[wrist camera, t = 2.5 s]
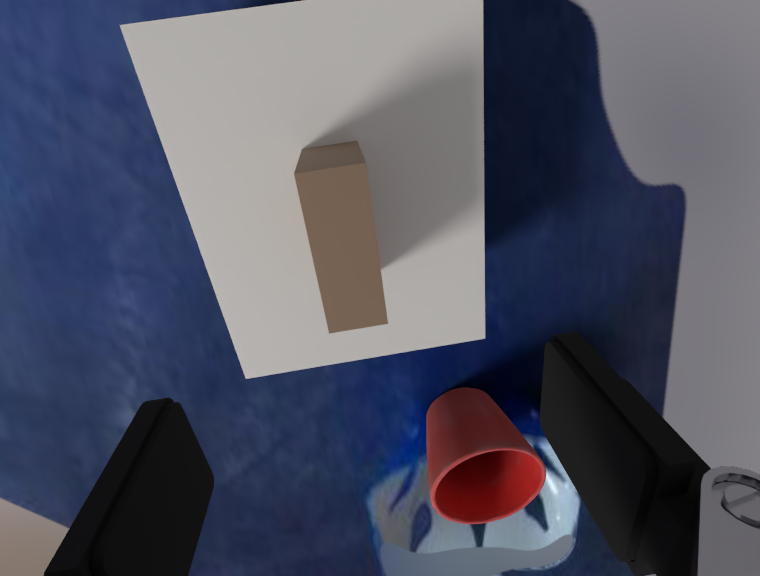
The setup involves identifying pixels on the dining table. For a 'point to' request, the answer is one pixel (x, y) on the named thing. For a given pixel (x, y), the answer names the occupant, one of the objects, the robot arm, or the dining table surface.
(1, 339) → the dining table surface
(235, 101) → the lid
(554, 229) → the dining table surface
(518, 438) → the flower pot
